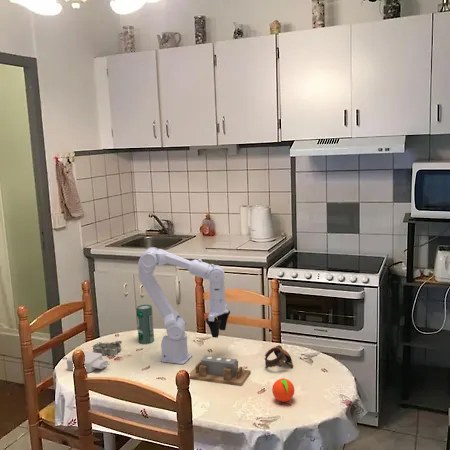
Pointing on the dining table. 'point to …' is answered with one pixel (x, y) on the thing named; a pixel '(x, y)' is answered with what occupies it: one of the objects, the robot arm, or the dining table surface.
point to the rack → (201, 374)
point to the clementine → (283, 390)
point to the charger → (90, 361)
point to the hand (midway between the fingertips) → (218, 333)
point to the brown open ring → (278, 357)
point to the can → (145, 324)
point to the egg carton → (107, 348)
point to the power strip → (219, 365)
